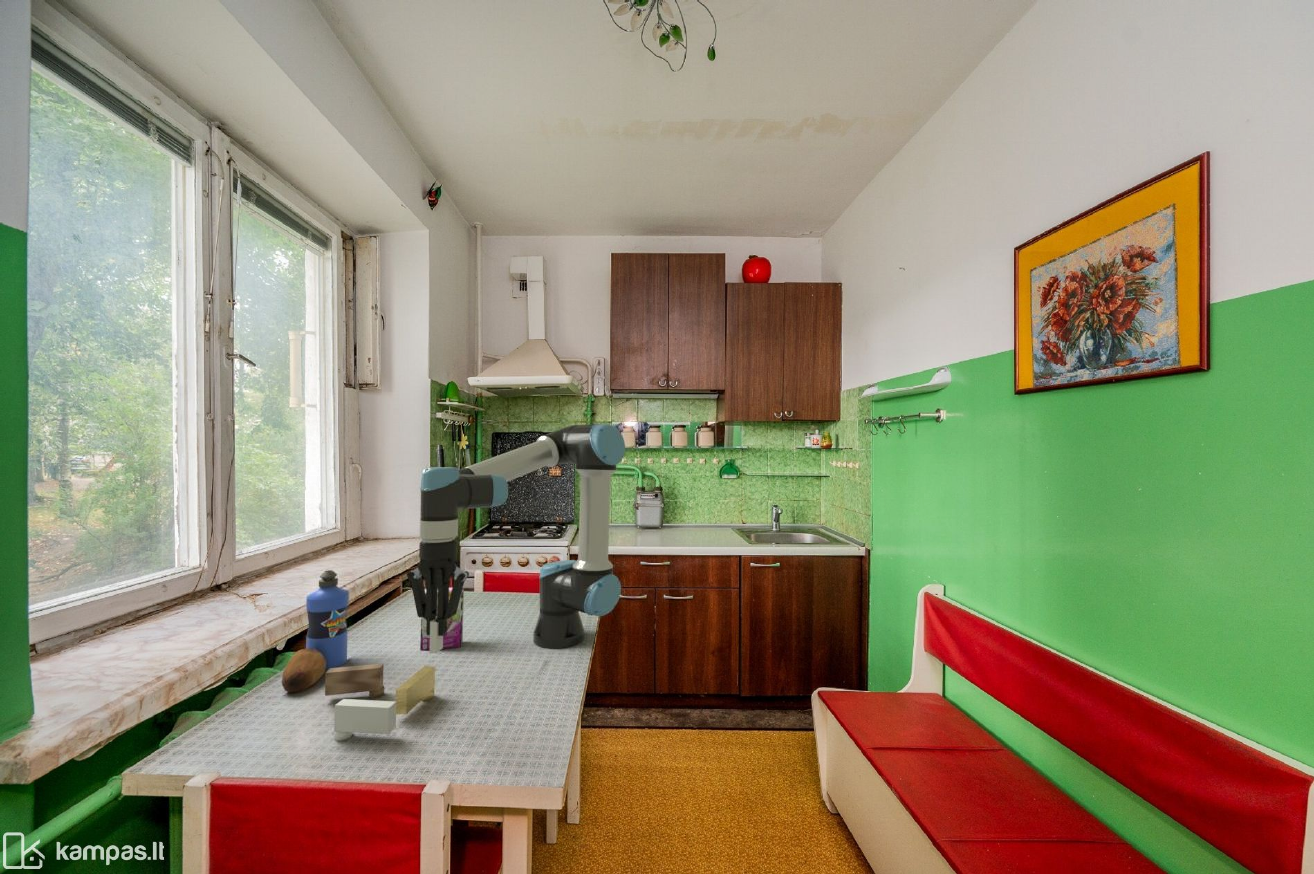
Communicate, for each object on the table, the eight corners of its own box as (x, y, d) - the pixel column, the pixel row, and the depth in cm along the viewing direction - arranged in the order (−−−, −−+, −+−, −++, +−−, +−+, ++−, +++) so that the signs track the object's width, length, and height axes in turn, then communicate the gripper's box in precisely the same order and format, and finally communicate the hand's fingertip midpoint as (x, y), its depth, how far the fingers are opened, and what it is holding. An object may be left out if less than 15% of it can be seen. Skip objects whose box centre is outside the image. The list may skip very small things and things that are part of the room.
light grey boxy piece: (330, 740, 96) (331, 705, 96) (341, 731, 99) (342, 698, 99) (387, 743, 95) (387, 708, 96) (396, 734, 98) (397, 700, 98)
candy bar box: (419, 652, 141) (420, 593, 141) (422, 645, 146) (423, 588, 146) (462, 647, 144) (463, 590, 145) (463, 641, 149) (464, 585, 149)
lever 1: (385, 691, 116) (386, 662, 116) (382, 697, 113) (382, 668, 113) (329, 697, 113) (330, 667, 113) (324, 703, 110) (325, 673, 110)
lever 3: (424, 694, 115) (424, 665, 115) (436, 694, 114) (437, 665, 114) (393, 721, 103) (394, 689, 103) (407, 722, 103) (408, 689, 103)
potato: (304, 710, 115) (268, 698, 112) (315, 673, 127) (282, 662, 124) (325, 682, 116) (290, 670, 112) (334, 648, 128) (303, 636, 124)
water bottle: (355, 663, 133) (357, 569, 134) (319, 677, 125) (321, 577, 125) (333, 657, 137) (335, 565, 138) (296, 670, 129) (298, 573, 129)
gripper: (475, 537, 111) (473, 645, 110) (419, 535, 112) (416, 642, 111) (459, 543, 103) (457, 659, 102) (399, 541, 104) (396, 656, 103)
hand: (436, 650), depth 107 cm, fingers closed
